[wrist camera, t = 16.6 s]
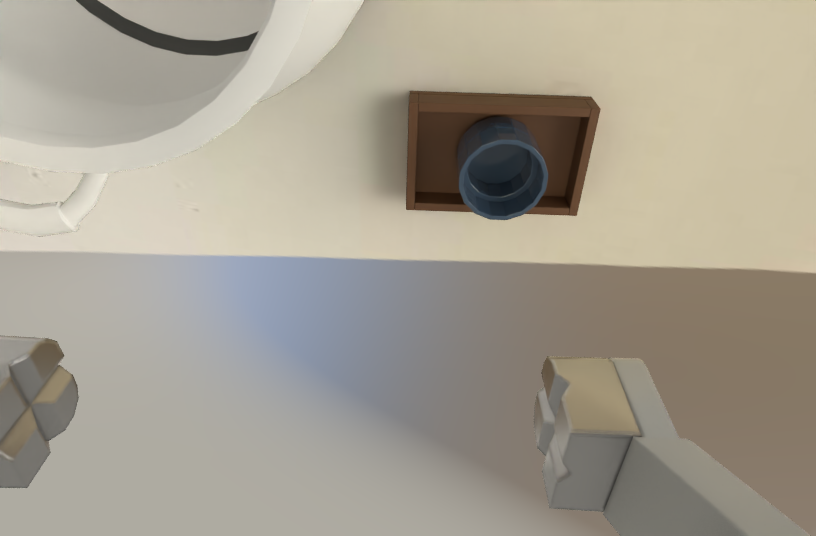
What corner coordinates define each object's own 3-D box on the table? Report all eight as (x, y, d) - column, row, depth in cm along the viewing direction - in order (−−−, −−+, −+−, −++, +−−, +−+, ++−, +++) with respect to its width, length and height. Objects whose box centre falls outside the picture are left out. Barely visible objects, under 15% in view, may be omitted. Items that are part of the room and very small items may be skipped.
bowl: (453, 187, 41) (456, 218, 38) (459, 113, 38) (462, 138, 34) (529, 190, 41) (540, 221, 37) (542, 115, 38) (554, 141, 34)
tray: (406, 194, 42) (406, 210, 40) (409, 90, 38) (408, 102, 36) (569, 200, 42) (576, 216, 40) (591, 96, 38) (600, 108, 36)
